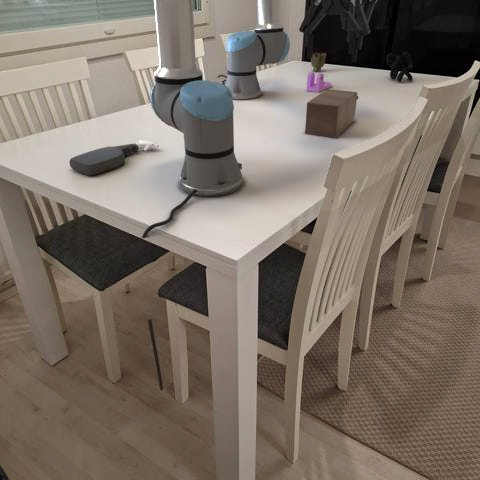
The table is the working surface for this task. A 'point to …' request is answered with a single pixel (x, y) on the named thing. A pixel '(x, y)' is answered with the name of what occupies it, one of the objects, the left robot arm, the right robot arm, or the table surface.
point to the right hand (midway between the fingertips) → (351, 53)
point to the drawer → (356, 101)
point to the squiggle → (399, 66)
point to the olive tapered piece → (318, 61)
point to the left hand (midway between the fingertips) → (331, 60)
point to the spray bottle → (106, 157)
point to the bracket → (317, 82)
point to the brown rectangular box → (330, 113)
